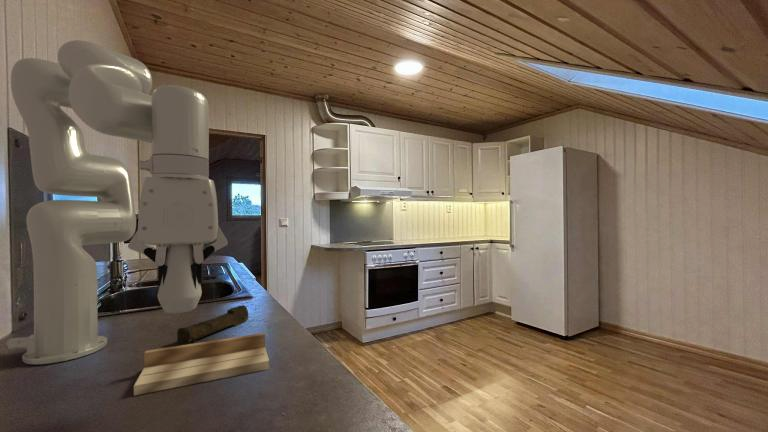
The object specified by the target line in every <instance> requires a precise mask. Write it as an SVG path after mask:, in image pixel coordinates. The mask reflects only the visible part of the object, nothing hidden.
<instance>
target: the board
mask: <svg viewBox="0 0 768 432" xmlns="http://www.w3.org/2000/svg"><path fill="white" fill-rule="evenodd" d="M143 355H144V356H143V357H144V361H143V363H144V365H143V366H144V367H143V369H142V371H141V373H140V374H139V376H138V378H137V379H136V381H135V383H134V385H133V396H138V395H143V394H149V393H154V392H159V391H164V390H170V389H173V388H180V387H184V386H185V387H186V386H191V385H195V384H200V383H204V382H210V381H215V380H219V379H226V378H230V377H235V376H241V375H247V374H251V373H255V372H261V371H265V370H266V371H267V370H270V358H269V356H268V353H267V348H266V333H265V332H261V333H260V332H259V333H255V334H247V335H242V336H234V337H230V338H221V339H216V340H215V339H214V340H209V341H201V342H193V343H189V344H187V345H182V344H180V345H175V346H169V347H167V346H166V347H161V348H155V349H149V350H145V352H144V354H143Z"/></svg>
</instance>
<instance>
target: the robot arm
mask: <svg viewBox="0 0 768 432" xmlns="http://www.w3.org/2000/svg"><path fill="white" fill-rule="evenodd" d="M57 61H58V62H55V61H50V60H47V59H42V58H35V57H34V58H33V57H26V58H22V59H19V60H17V61H16V62H15V63H14V65H13V66H12V68H11V72H10V88H11V89H10V90H11V95H12V98H13V101H14V104H15V106H16V108H17V111H18V113H19V114H20V116H21V118H22V121H23V123H24V125H25V127H26V129H27V133H28V145H29V152H30V161H31V162H30V164H31V171H32V178H33V182H34V185H35V186H36V188H37V189H38V190H39V191H41V192H43V193H45V194H49V195H56V196H57V195H58V196H69V197H70V196H71V197H87V198H88V197H89V198H91V197H92V198H99V199H100V200H98V201H97V200H84V199H83V200H81V199H80V200H79V199H54V200H46V201H42V202H41V201H40V202H38V203H36V204H34V205H33V206H32V207H31V208H30V209H29V210H28V212H27V214H26V222H25V223H26V229H27V232H28V236H29V242H30V246H31V253H32V262H33V263H32V264H33V266H32V267H33V334H31V335H29V336H26V337H15V338H14V337H13V338H9V339H8V340H7V341H6V344H5V345H6V346H5V347H6V349H7V351H8V352H11V351H17V350H18V351H19V350H22V349H24V350H25V351H26V352H25V353H24V354H23V355H22V357H21V359H22V363H24V364H26V365H32V366H33V365H34V366H35V365H36V366H37V365H49V364H55V363H60V362H65V361H70V360H74V359H78V358H82V357H85V356H87V355H90V354H93V353H96V352H98V351H100V350H101V349H103V348H105V347H106V346H107V344H108V338H107V337H106V336H103V335H99V328H98V327H99V326H98V324H99V321H98V320H99V319H98V316H99V314H98V313H99V312H98V311H99V310H98V309H99V307H98V305H99V304H98V303H99V301H98V300H99V299H98V293H99V292H98V266H97V262H96V261H95V259H94V258H93V257H92V255H90V254H89V253H88V251H86V250H85V249H84V248H83V246H89V245H99V244H114V243H122V242H126V241H129V240H130V239H131V240H130V241H129V243H128V244H127V248H128V249H129V250H131V251H134V252H137V253H138V254H139V253H140V254H142V255H145V257H147V258H148V259H150V260H151V261H152V262H154V264H155V265H156V266H158V267H157V270H158V271H157V274H158V275H157V276H158V277H157V283H158V287H160V285H161V280H162V275H163V284H164V281H165V277H166V274H167V266H166V265H165V261H166V256H167V251H168V246H169V245H179V244H193V250H194V260H193V262H194V264H192V265H191V271H192V278H193V282H194V285H195V289H196V276H197V281H198V283H200V284H202V283H203V263H204V261H206V260H207V259H208V258H209V257H210V256H211V255H212V254H213V253H215V252H217V251H218V250H220V249H223V248H224V247H226V246H228V244H229V242H228V240H227V237H226V236H225V234H224V233H223V231H222V229H221V228H220V226H219V213H218V211H219V210H218V199H217V191H216V185H215V181H214V180H213V179H210V178H209V177H210V166H209V165H210V162H209V159H210V157H209V156H210V150H209V148H210V147H209V146H210V144H209V143H210V141H209V139H210V117H209V114H210V106H209V101H208V99H207V97H206V96H205V95H204V94H203V93H201V92H200V91H198V90H196V89H193V88H189V87H186V86H182V85H175V84H174V85H172V84H168V85H167V84H166V85H165V84H164V85H159V86H158V87H156V88H155V89H154V90H153V91H152V95H151V94H150V93H151V90H152V88H153V77H152V73H151V71H150V70H149V68H148V67H147V66H146V65H145V64H144V63H143V62H142V61H140V60H138V59H136V58H134V57H131V56H128V55H126V54H123V53H121V52H118V51H116V50H113V49H110V48H108V47H105V46H103V45H100V44H97V43H94V42H91V41H87V40H80V39H78V40H70V41H67V42H64V43H63V44H62V45H61V46H60V48H59V49H58V51H57ZM61 107H64V108H69V109H72V111H73V112H74V113H75V115H76V116H77V117H78V118H79V119H80V120H81V121H82V123H84V124H85V125H86V126H87V127H89V128H90V129H92V130H93V131H95V132H97V133H101V134H103V135H106V136H111V137H117V138H123V139H127V140H128V139H129V140H133V141H139V142H145V143H149V144H151V155H150V157H149V159H148V160H147V159H145V160H140V161H139V166H138V167H139V170H140V171H141V170H142V171H146V172H149V173H150V175H151V176H146V177H144V179H143V182H142V188H141V192H140V201H139V210H138V211H139V212H138V222H137V217H136V216H137V215H136V208H135V202H134V193H133V186H132V177H131V174H130V171H129V169H128V168H127V166H126V164H124V162H122V161H121V160H120V159H117V158H114V157H109V156H105V155H96V154H91V153H89V152H88V150H86V145H85V135H84V133H83V131H82V129H81V128H80V126H79V125H78V124H77V122H75V120H74V119H73V118H72V117H70V116H69V115H68V114H67V113H66V112H65V111H64V110H63V109H62V108H61ZM214 241H215V242H214ZM211 242H213V243H211ZM208 243H211V244H209V245H208V246H206V247H205V246H204V244H208ZM153 246H156V248H155V247H153Z"/></svg>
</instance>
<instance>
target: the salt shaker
mask: <svg viewBox="0 0 768 432" xmlns="http://www.w3.org/2000/svg"><path fill="white" fill-rule="evenodd" d="M193 260H194V250H193V244H179V245H169V246H168V251H167V256H166V261H165V265H166V266H167V274H166V277H165V281H164V284H163V275H162V280H161V285H160V286H158V292H157V300H158V302H159V305H160V306H161V308H162V310H163V312H164V313H165V314H182V313H187V312H190V311H193V310H195V309H197V308H198V303H199V301H200V299H201V297H202V293H203V291H202V286H201V283H198V281H197V276H196V289H195V285H194V282H193V278H192V271H191V265H192V264H194V262H193Z"/></svg>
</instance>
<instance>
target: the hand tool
mask: <svg viewBox="0 0 768 432" xmlns="http://www.w3.org/2000/svg"><path fill="white" fill-rule="evenodd" d="M248 320H249V311H248V308H247V306H245V305H238V306H235V307H231V308H229V309H228V310H226V313H224V314H221V315H218V316H216V317H213V318H210V319H207V320H205V321H200V322H198V323H195V324H192V325H189V326H186V327H180V328H178V329H177V332H176V338H177V339H176V340H177V342H178V344H179V345H187V344H191V343H196V341H197V340H199V339H202V338H205V337H206V336H208V335H211V334H214V333H217V332H218V331H221V330H224V329H226V328H229V327H230V328H235V327H238V326H239V325H241V324H243V323H245V322H246V321H248Z"/></svg>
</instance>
